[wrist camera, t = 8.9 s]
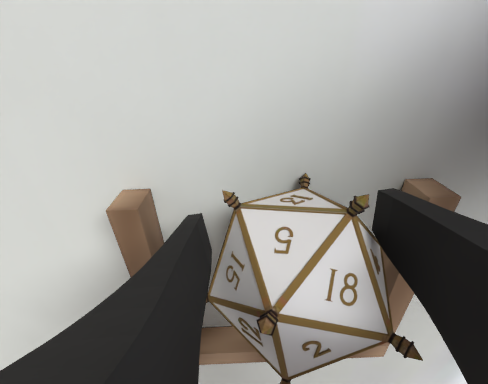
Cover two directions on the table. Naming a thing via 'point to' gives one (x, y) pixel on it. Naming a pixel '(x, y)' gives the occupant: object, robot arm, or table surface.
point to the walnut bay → (228, 338)
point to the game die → (304, 281)
